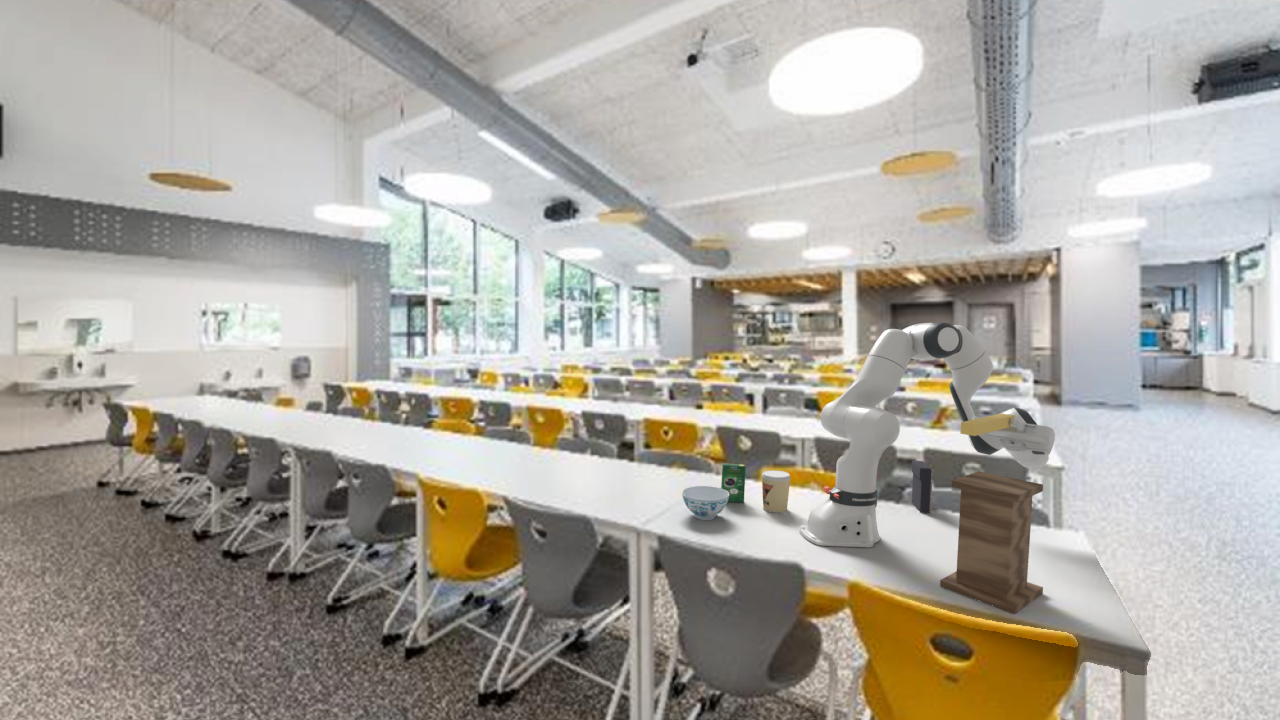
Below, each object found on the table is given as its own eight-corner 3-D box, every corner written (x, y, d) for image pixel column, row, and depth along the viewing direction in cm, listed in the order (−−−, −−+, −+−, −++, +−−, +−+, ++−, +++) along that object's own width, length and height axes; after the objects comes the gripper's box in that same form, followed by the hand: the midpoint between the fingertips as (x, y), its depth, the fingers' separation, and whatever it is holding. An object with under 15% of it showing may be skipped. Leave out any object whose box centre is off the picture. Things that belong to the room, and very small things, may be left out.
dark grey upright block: (932, 513, 192) (934, 468, 191) (918, 512, 193) (920, 468, 192) (922, 503, 203) (925, 460, 202) (909, 502, 204) (911, 460, 203)
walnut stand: (1014, 614, 127) (1021, 497, 125) (940, 586, 140) (945, 479, 138) (1042, 593, 137) (1049, 484, 135) (970, 569, 149) (976, 469, 147)
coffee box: (744, 500, 204) (745, 463, 203) (744, 503, 201) (745, 465, 200) (720, 499, 204) (721, 462, 203) (721, 502, 201) (722, 464, 200)
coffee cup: (757, 504, 199) (758, 470, 198) (784, 504, 200) (785, 469, 199) (765, 514, 190) (766, 477, 189) (793, 513, 191) (794, 477, 190)
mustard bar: (974, 436, 148) (975, 424, 148) (960, 433, 151) (961, 422, 150) (1014, 426, 162) (1014, 415, 162) (1000, 424, 165) (1001, 413, 165)
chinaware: (702, 505, 198) (703, 483, 197) (738, 517, 187) (738, 493, 186) (671, 515, 187) (672, 492, 187) (707, 528, 177) (708, 503, 176)
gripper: (983, 423, 178) (965, 404, 170) (1061, 435, 162) (1047, 414, 154) (977, 442, 176) (959, 423, 169) (1056, 456, 160) (1040, 436, 152)
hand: (1002, 419), depth 161 cm, fingers closed on mustard bar, 3 cm apart
